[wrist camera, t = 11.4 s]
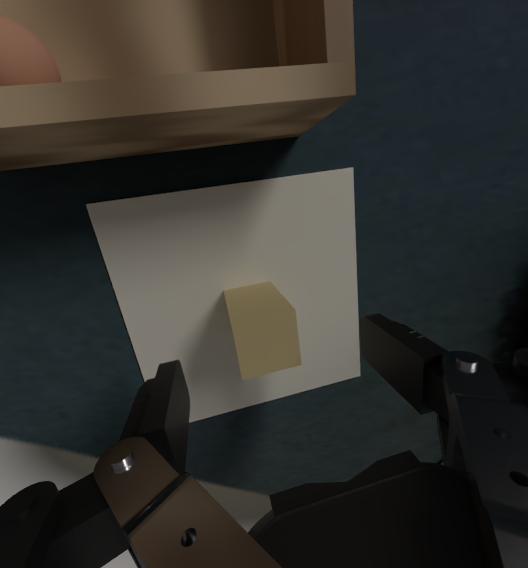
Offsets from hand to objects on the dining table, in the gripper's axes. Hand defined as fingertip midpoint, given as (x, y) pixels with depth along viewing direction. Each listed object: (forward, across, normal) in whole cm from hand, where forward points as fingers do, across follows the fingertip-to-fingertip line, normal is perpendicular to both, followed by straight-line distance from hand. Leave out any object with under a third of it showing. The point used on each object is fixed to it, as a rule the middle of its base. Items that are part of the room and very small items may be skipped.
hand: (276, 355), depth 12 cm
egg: (+5, +8, -12) cm, 16 cm away
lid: (+7, 0, 0) cm, 7 cm away
